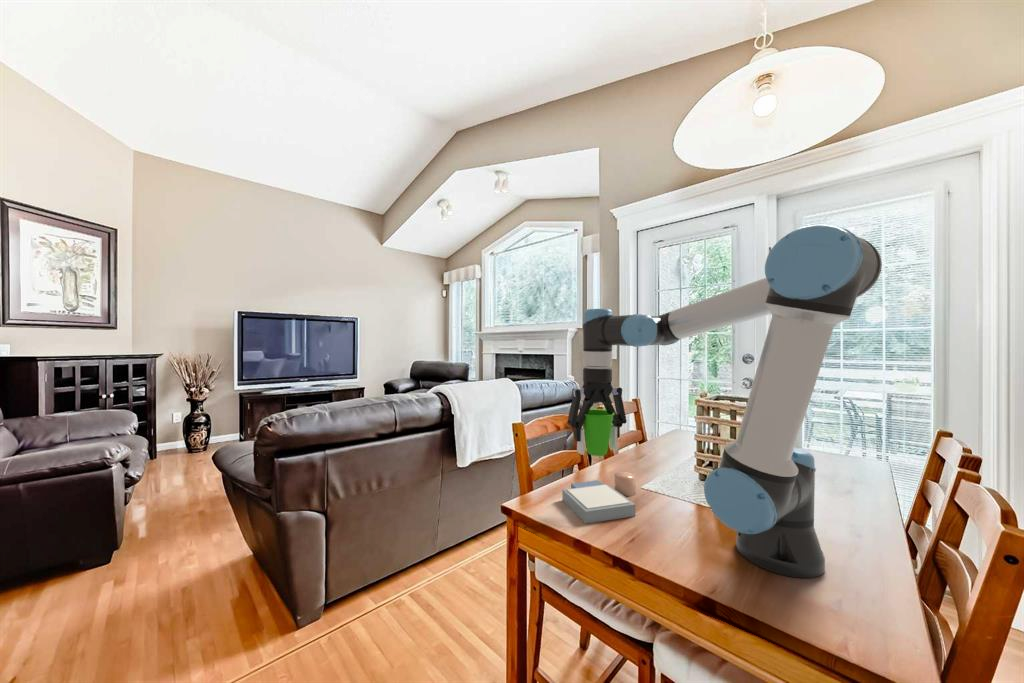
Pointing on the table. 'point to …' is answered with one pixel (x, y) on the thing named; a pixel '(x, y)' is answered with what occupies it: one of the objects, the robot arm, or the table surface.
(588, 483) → the book
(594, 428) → the cup
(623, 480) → the beige rounded block
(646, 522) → the table surface
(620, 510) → the podium
